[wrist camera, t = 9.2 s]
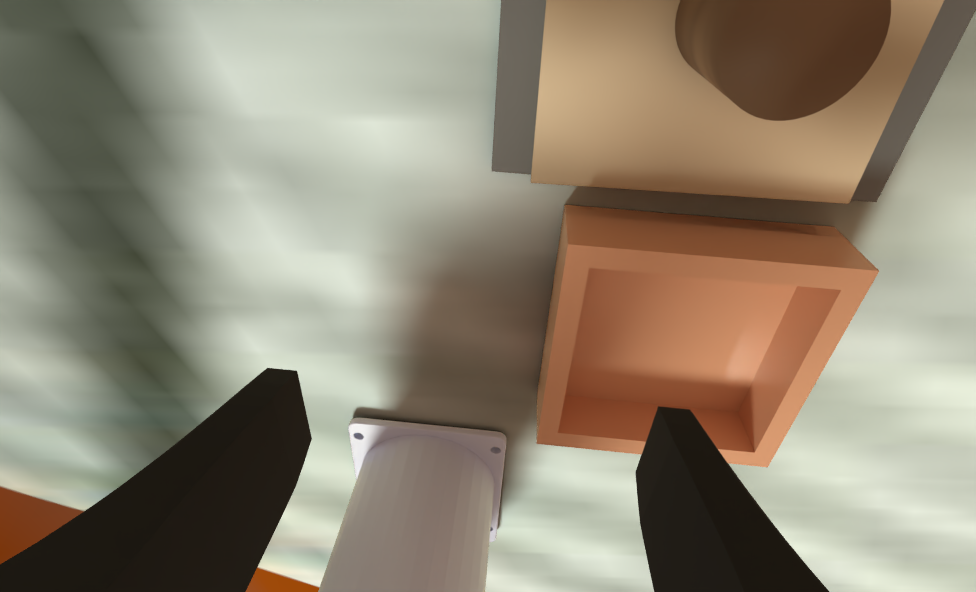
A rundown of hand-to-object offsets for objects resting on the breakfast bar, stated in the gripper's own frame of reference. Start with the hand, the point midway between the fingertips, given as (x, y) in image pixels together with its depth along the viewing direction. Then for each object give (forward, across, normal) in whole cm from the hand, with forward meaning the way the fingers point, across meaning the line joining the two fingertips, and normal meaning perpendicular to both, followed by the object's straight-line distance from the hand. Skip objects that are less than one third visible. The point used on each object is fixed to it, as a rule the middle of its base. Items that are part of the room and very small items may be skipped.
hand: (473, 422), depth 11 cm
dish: (+10, -7, +4) cm, 13 cm away
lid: (+10, -6, -7) cm, 13 cm away
